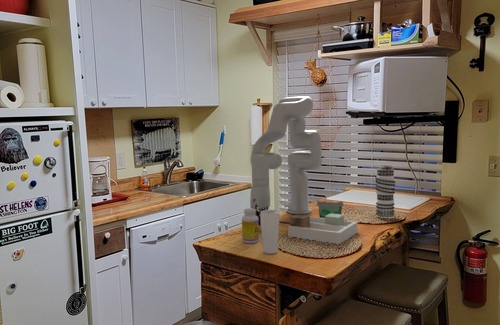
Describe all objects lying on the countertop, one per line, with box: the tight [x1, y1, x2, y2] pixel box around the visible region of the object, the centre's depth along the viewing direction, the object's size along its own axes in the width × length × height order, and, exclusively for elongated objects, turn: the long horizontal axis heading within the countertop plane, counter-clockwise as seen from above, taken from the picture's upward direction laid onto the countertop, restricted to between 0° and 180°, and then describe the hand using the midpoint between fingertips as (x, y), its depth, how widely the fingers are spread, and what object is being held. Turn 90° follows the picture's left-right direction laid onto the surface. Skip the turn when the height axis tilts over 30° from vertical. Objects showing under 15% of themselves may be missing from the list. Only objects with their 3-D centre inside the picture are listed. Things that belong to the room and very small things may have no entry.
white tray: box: [287, 216, 359, 245], centre depth 173 cm, size 22×20×4 cm
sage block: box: [325, 213, 345, 226], centre depth 175 cm, size 6×6×6 cm
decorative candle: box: [374, 164, 396, 218], centre depth 200 cm, size 9×9×25 cm
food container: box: [316, 200, 344, 218], centre depth 192 cm, size 12×6×10 cm, turn 70°
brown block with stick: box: [259, 214, 311, 228], centre depth 178 cm, size 24×6×6 cm, turn 56°
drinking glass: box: [260, 209, 280, 255], centre depth 151 cm, size 7×7×15 cm
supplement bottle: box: [241, 208, 260, 244], centre depth 165 cm, size 7×7×13 cm
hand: (261, 223), depth 184 cm, fingers closed on brown block with stick, 3 cm apart
